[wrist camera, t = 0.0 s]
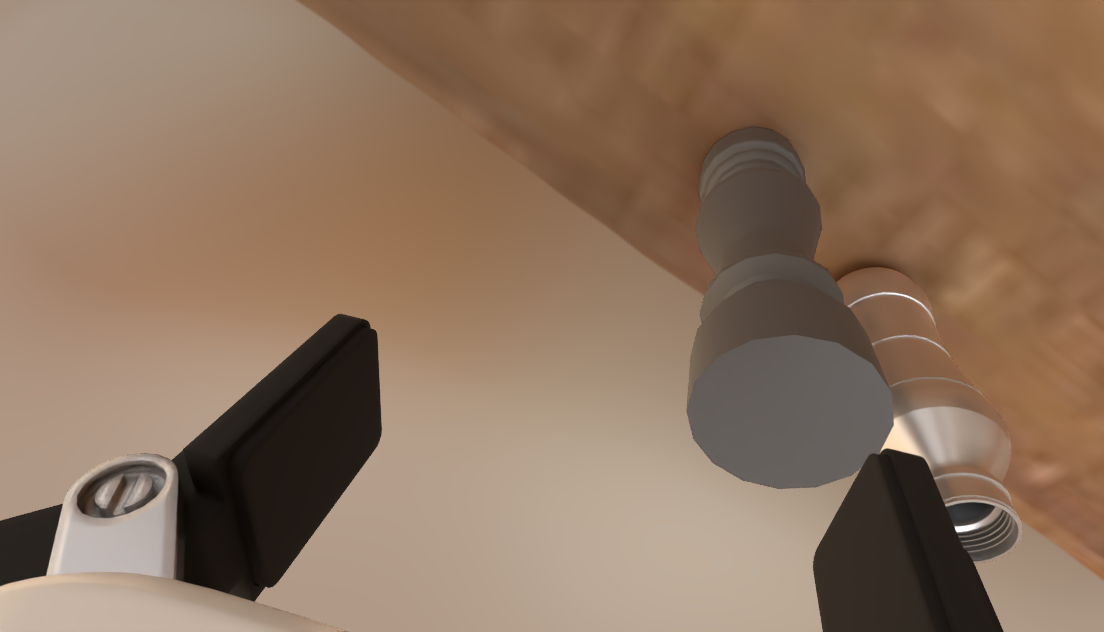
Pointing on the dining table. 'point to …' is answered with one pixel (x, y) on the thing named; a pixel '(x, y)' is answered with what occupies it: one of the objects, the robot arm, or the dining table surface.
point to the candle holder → (777, 329)
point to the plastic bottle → (938, 410)
